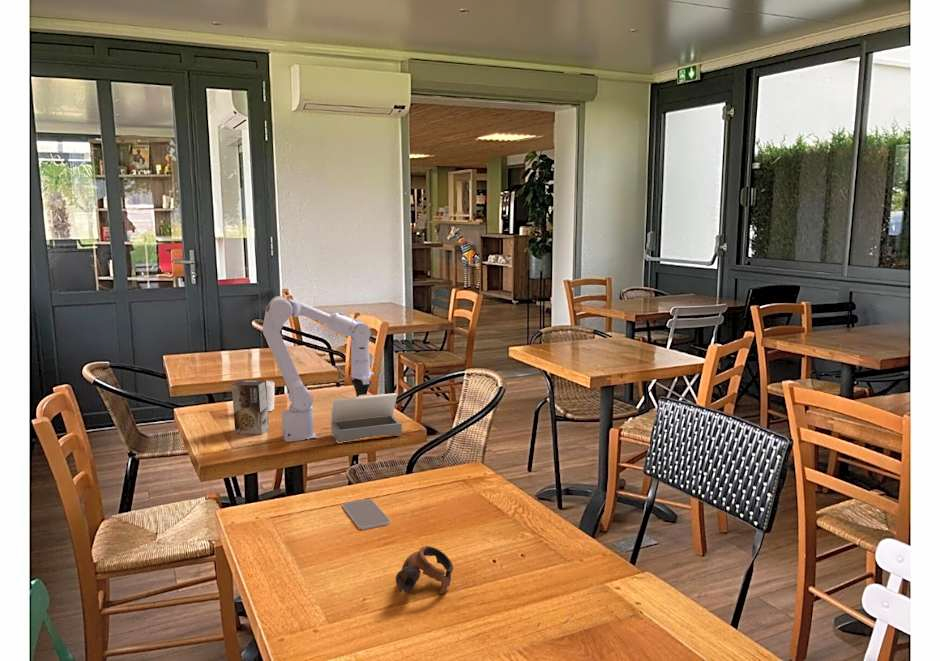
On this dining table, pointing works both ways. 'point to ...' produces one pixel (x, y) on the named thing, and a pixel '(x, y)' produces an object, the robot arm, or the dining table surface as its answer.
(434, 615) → the dining table surface
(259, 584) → the dining table surface
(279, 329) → the robot arm
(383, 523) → the smartphone
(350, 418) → the duct lid
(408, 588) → the brown looped part
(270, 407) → the white cup
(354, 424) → the cable duct
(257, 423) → the coffee box
